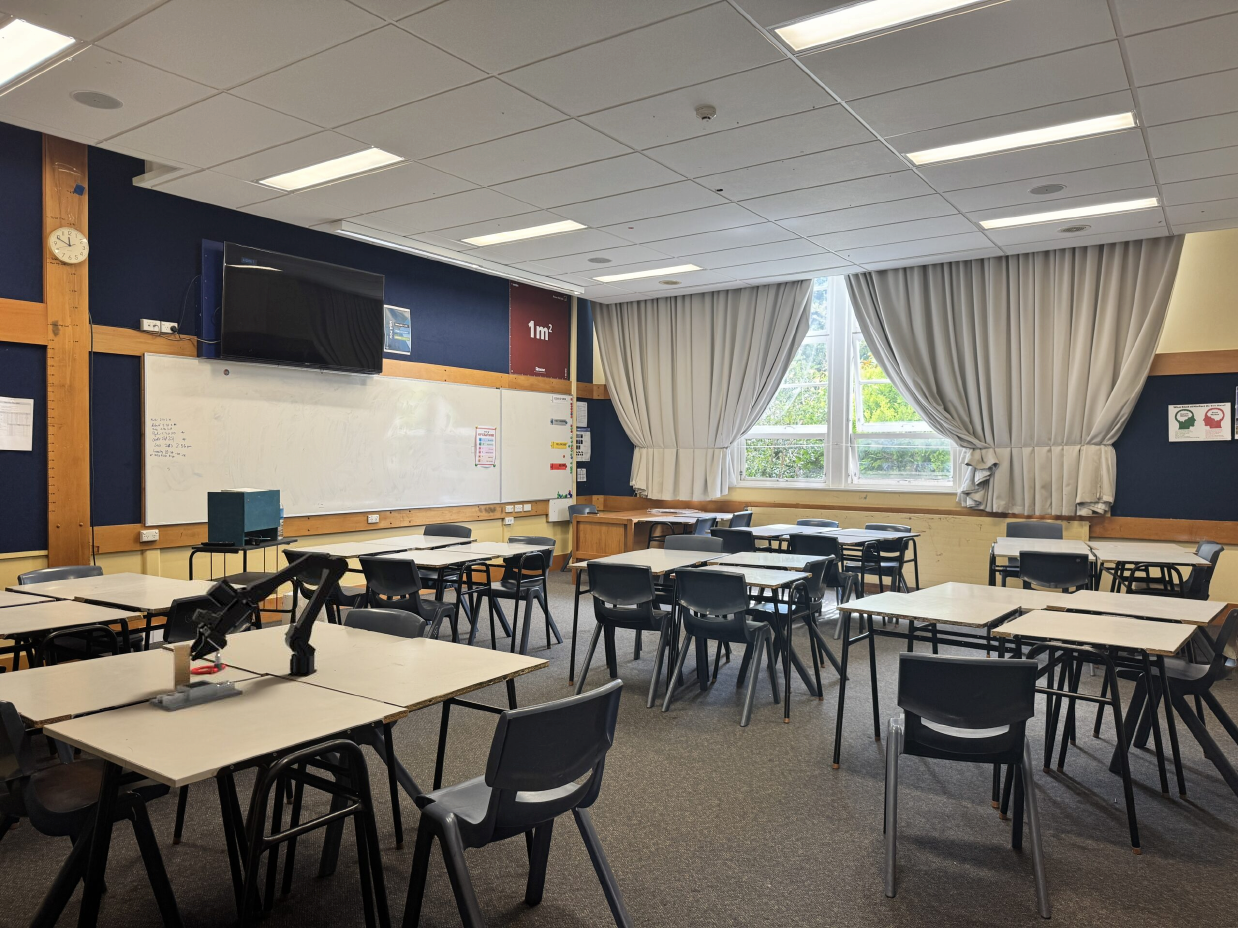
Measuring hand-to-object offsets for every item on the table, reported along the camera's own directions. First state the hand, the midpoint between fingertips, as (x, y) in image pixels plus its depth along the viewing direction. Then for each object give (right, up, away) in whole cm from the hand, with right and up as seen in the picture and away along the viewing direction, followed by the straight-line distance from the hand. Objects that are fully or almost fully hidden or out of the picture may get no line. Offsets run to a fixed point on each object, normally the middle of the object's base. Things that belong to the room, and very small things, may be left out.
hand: (189, 657), depth 233 cm
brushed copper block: (-2, -9, -1) cm, 10 cm away
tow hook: (-6, -10, +21) cm, 24 cm away
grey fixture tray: (+7, -9, -9) cm, 15 cm away
